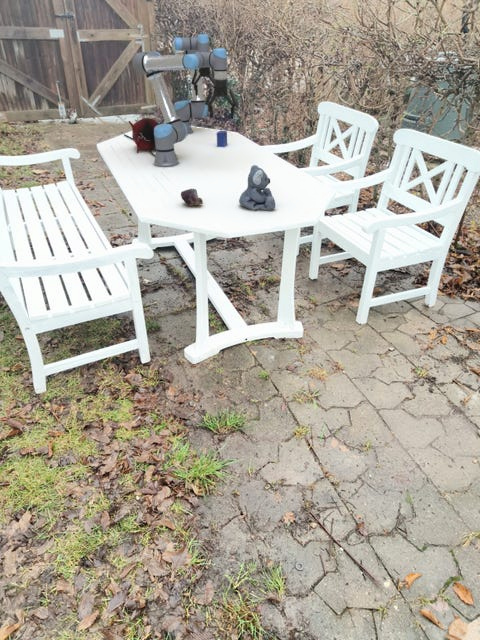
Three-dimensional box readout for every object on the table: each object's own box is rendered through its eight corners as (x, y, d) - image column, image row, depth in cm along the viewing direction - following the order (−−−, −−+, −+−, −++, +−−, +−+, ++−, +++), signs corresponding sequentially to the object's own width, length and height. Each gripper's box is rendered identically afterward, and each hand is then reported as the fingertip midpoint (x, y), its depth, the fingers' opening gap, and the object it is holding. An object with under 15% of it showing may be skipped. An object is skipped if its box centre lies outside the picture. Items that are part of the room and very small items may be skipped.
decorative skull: (132, 124, 330) (125, 120, 306) (163, 117, 329) (158, 113, 306) (140, 154, 337) (134, 153, 313) (170, 147, 336) (166, 145, 312)
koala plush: (276, 211, 223) (277, 171, 212) (240, 212, 222) (240, 172, 211) (271, 199, 237) (272, 161, 226) (237, 200, 236) (237, 162, 225)
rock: (196, 202, 238) (178, 205, 233) (194, 185, 234) (176, 188, 230) (205, 205, 228) (187, 208, 224) (203, 188, 224) (185, 191, 220)
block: (223, 147, 330) (223, 133, 324) (217, 146, 331) (216, 132, 326) (227, 144, 336) (226, 131, 330) (220, 144, 337) (220, 130, 331)
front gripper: (242, 79, 263) (242, 118, 275) (203, 77, 270) (205, 115, 282) (238, 80, 257) (239, 120, 269) (198, 79, 264) (200, 118, 276)
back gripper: (223, 61, 304) (224, 95, 317) (189, 60, 311) (191, 94, 323) (219, 62, 299) (220, 97, 311) (185, 61, 305) (187, 95, 317)
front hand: (221, 118), depth 276 cm, fingers open, 13 cm apart
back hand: (205, 95), depth 317 cm, fingers open, 13 cm apart
